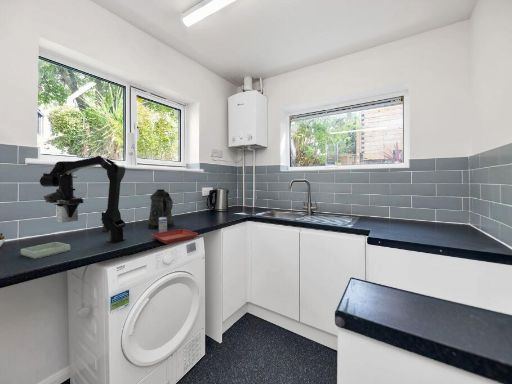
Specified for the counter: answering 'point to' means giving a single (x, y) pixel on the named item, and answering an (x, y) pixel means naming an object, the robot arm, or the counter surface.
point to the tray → (45, 250)
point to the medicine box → (162, 224)
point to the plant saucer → (174, 236)
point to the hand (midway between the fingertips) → (67, 217)
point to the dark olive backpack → (160, 209)
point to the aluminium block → (65, 215)
